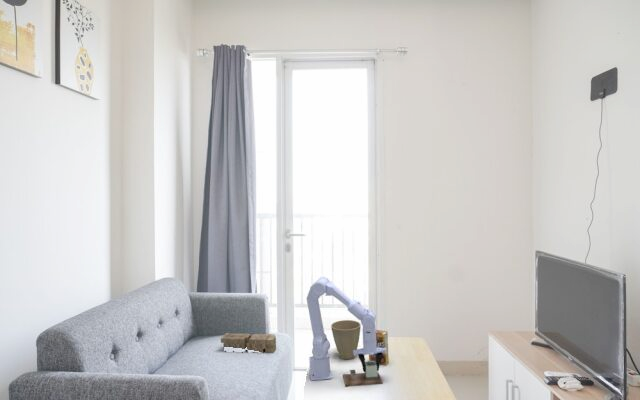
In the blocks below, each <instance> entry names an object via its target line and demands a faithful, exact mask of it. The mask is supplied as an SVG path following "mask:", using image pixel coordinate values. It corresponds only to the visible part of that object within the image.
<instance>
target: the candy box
mask: <svg viewBox="0 0 640 400" xmlns="http://www.w3.org/2000/svg"><path fill="white" fill-rule="evenodd" d="M376 347H379V348H386V349H387V354H384V353H382V355H383V358H382V360H381V362H380V365H382V366H387V365H388V364H389V361H390V359H389V334H388V331H386V330H380V329H379V330H378V329H376ZM368 361H375V363H376V355H375V354H374V355H369V354H368Z"/></svg>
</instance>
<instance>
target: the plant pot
mask: <svg viewBox="0 0 640 400" xmlns="http://www.w3.org/2000/svg"><path fill="white" fill-rule="evenodd" d="M361 325H362V324H361V322H359V321H356V320H352V319H351V320H349V319H345V320H344V319H342V320H337V321H334V322H333V323H331V324H330V328H331V332H332V337H333V340H334V343H335V346H336V349H337V352H338V354H339V357H340V358H341V359H343V360H349V359H351V360H352V359H354V358H355V357H356V356H354V354H353V350H357V349H358V347H359V342H360V336H361Z"/></svg>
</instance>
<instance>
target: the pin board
mask: <svg viewBox="0 0 640 400" xmlns="http://www.w3.org/2000/svg"><path fill="white" fill-rule="evenodd" d="M377 376H378V379H375V380H366V377H365V372H358V373H357V372H356V370H355V369H350V370H349V373H347V374H346V373H343V374H342V378H343V382H344V386H345V387H347V388H348V387H357V386H372V385H382V384H383V382H384V381H383V379H382V377H381V376H380V374H379V371H377Z"/></svg>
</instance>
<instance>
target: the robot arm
mask: <svg viewBox="0 0 640 400" xmlns="http://www.w3.org/2000/svg"><path fill="white" fill-rule="evenodd" d="M323 295H325V296H326V297H328V296H329V297H330V296H332V297H334V298H335V299H336V300H338V301H339V302H341V303H342V304H343V305H344V306H346V307H347V311H348V312H349V313H350V314H351V315H353V316H354V317H355V318H356V319H358V321H360V324H361V325H362V346H363V347H362V348H357V350H353V354H354V356H355V357H357V356H358V359H359V361H360V362H361V366H362V371H363V373H365V362H366V358H365V355H368V356H369V355H374V354H375V355H376V365H377V372H379V370H380V366H381V364H380V362H381V360H382V358H383V355H382V353H384V354H387V349H386V348H379V347H376V330H377V329H376V323H375V322H376V320H377V318H376V314H375V312H373V310H370V309H369V308H366V307H365V306H364V305H362V303H361V301H359V300H356V299H355V300H353V299H351V298H350V297H349V296H348V295H346V294H345V293H344V292H343V291H342V290H341V289H340V288H339V287H337V285H336V284H335V283H334V282H333V281H332V280H329V278H327V277H325V276H322V277H319V278H318V279H317V280H316V281H315V282H314V283H312V284H311V286H310V287H309V290H308V293H307V296H306V303H307V307H308V308H307V309H308V313H309V314H308V315H309V319H310V325H311V331H312V336H313V339H312V349H311V353H312V356H309V376H310V381H319V380H320V381H323V380H332V379H333V376H332V371H331V358H330V353H329V351H330V348H331V344H330V343H331V342H330V341H329V340H328V337H327V334H326V333H325V328H324V324H323V319H322V313H321V307H320V302H319V299H320V298H321V296H323Z"/></svg>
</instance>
